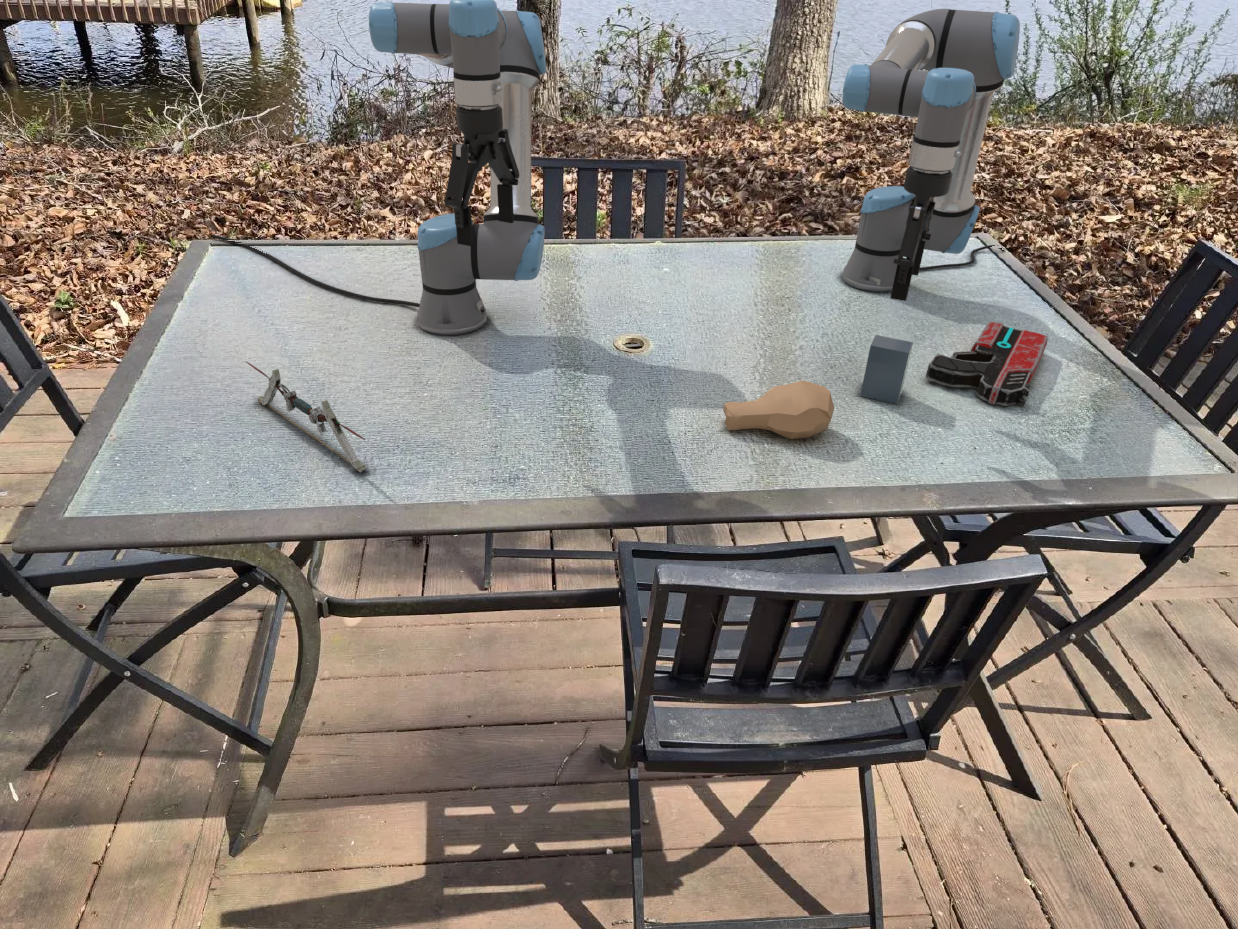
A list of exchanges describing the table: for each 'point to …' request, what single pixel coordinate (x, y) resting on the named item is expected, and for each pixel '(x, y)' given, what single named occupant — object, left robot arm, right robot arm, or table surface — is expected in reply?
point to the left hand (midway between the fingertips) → (486, 232)
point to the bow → (311, 415)
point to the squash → (784, 411)
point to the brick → (886, 369)
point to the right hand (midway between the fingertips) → (904, 286)
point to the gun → (993, 364)
